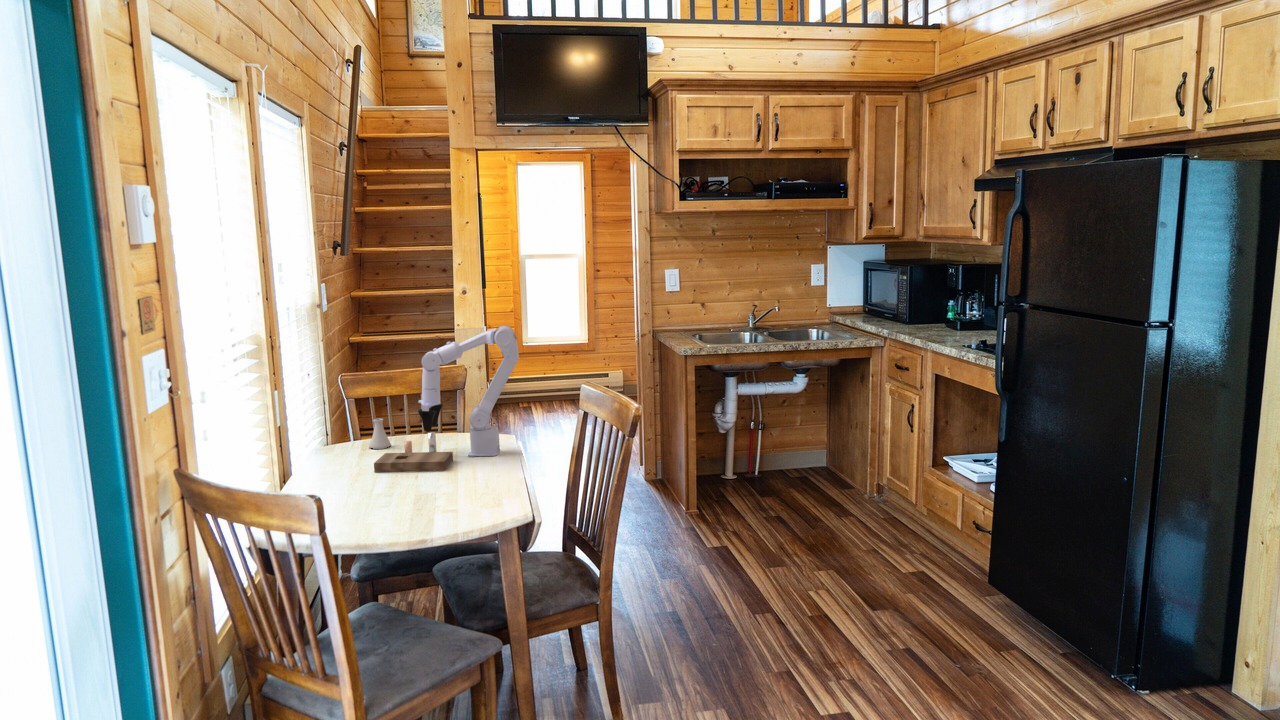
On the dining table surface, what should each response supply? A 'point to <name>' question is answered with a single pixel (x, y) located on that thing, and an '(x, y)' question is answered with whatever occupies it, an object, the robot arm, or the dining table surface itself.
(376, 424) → the flask
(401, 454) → the hole board
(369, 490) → the dining table surface
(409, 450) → the short pin
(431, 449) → the tall pin
